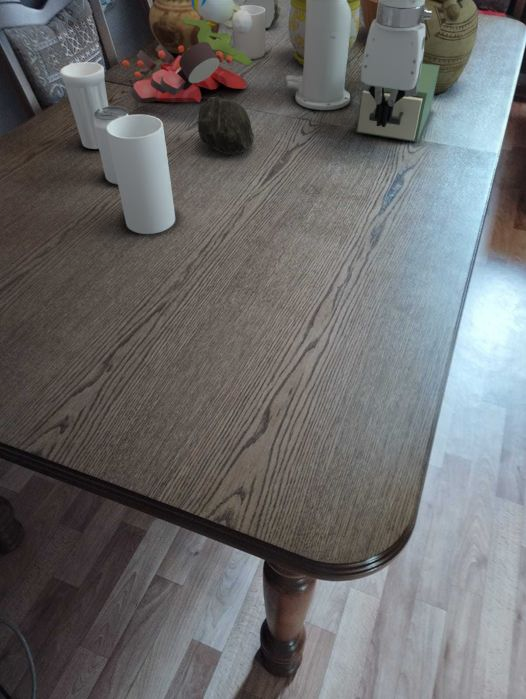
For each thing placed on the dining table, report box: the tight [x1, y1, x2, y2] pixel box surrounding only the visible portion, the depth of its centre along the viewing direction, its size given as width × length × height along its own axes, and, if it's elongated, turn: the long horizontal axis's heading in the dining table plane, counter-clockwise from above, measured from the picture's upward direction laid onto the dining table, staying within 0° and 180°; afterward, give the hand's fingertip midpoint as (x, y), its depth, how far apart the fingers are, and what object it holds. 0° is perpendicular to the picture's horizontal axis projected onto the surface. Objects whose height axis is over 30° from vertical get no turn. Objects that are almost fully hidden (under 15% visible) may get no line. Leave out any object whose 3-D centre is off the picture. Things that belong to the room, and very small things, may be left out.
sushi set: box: [121, 0, 254, 104], centre depth 124 cm, size 29×30×24 cm
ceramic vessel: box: [421, 0, 479, 95], centre depth 123 cm, size 19×21×30 cm
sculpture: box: [241, 0, 281, 30], centre depth 168 cm, size 11×18×12 cm
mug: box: [232, 5, 266, 60], centre depth 146 cm, size 9×12×11 cm
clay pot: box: [148, 0, 221, 56], centre depth 146 cm, size 19×19×20 cm
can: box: [94, 105, 129, 186], centre depth 98 cm, size 6×6×12 cm
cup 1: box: [59, 61, 109, 150], centre depth 107 cm, size 8×8×14 cm
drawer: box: [358, 90, 422, 140], centre depth 113 cm, size 19×12×8 cm, turn 159°
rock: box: [197, 96, 255, 155], centre depth 108 cm, size 10×11×10 cm
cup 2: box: [107, 114, 176, 235], centre depth 86 cm, size 8×8×16 cm
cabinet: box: [355, 64, 440, 143], centre depth 115 cm, size 16×13×10 cm
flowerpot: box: [288, 0, 361, 66], centre depth 140 cm, size 18×18×16 cm
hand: (382, 123), depth 105 cm, fingers closed
